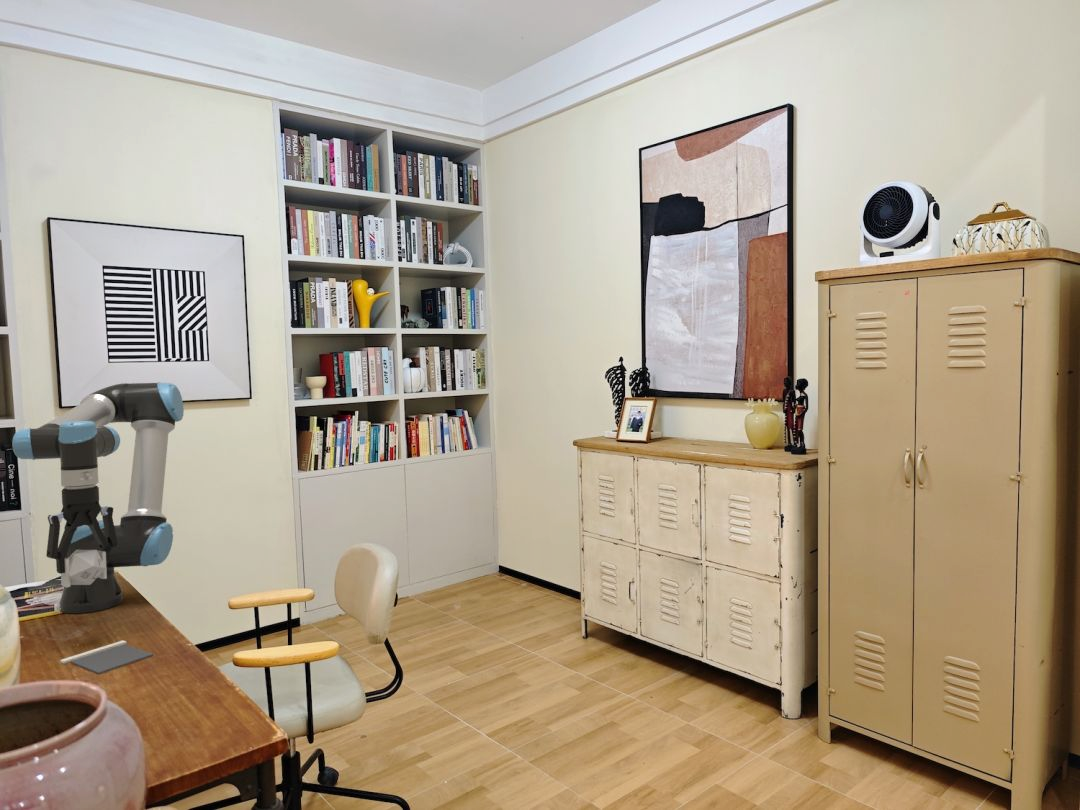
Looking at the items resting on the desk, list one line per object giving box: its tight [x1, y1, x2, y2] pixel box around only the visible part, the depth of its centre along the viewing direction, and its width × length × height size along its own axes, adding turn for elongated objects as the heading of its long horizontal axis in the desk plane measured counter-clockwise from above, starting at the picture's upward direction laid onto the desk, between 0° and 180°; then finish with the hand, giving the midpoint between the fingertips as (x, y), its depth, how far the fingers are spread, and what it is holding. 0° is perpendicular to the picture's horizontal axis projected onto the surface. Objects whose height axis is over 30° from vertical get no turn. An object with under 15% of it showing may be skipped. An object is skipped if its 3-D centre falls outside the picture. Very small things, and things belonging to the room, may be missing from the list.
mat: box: [59, 639, 154, 675], centre depth 171 cm, size 14×15×1 cm
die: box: [67, 550, 106, 585], centre depth 178 cm, size 8×9×10 cm
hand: (84, 581), depth 178 cm, fingers closed on die, 7 cm apart
